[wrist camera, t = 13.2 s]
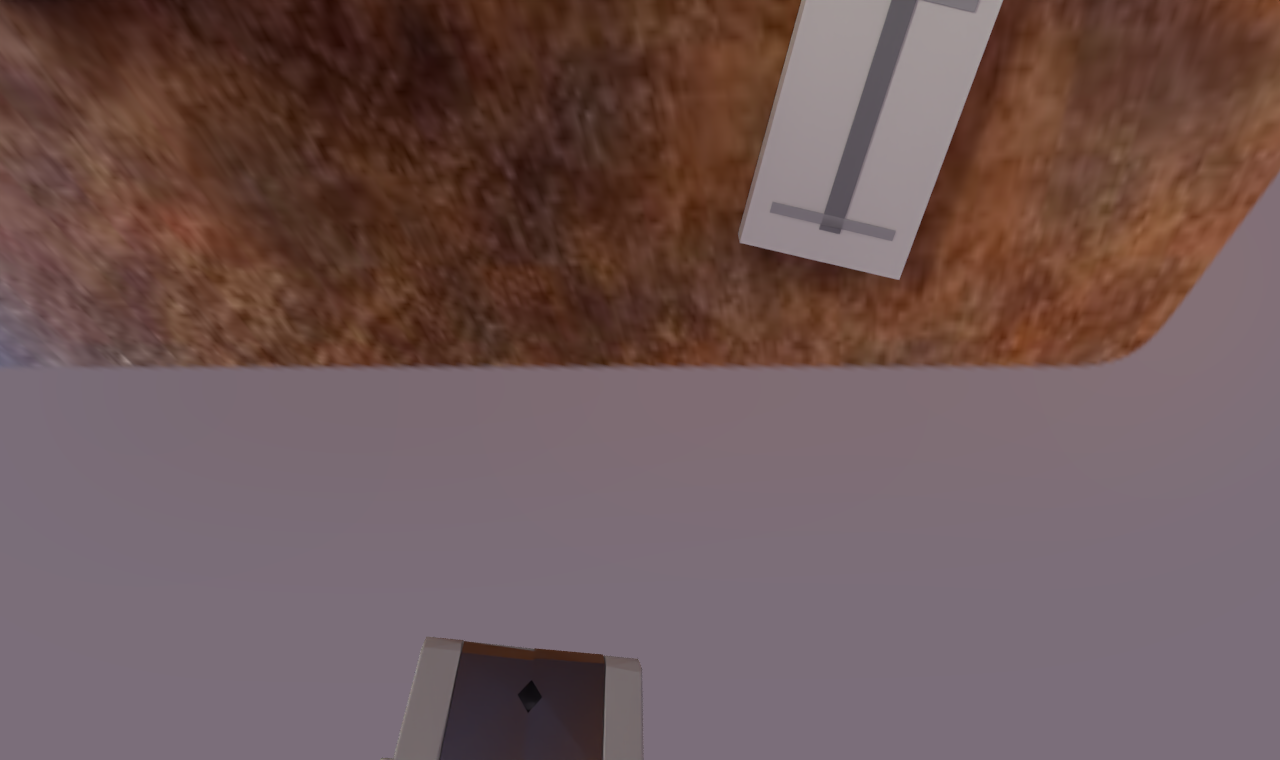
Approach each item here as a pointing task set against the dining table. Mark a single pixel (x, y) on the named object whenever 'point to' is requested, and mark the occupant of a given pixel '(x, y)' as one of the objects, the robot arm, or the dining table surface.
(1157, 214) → the dining table surface
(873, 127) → the slider box
